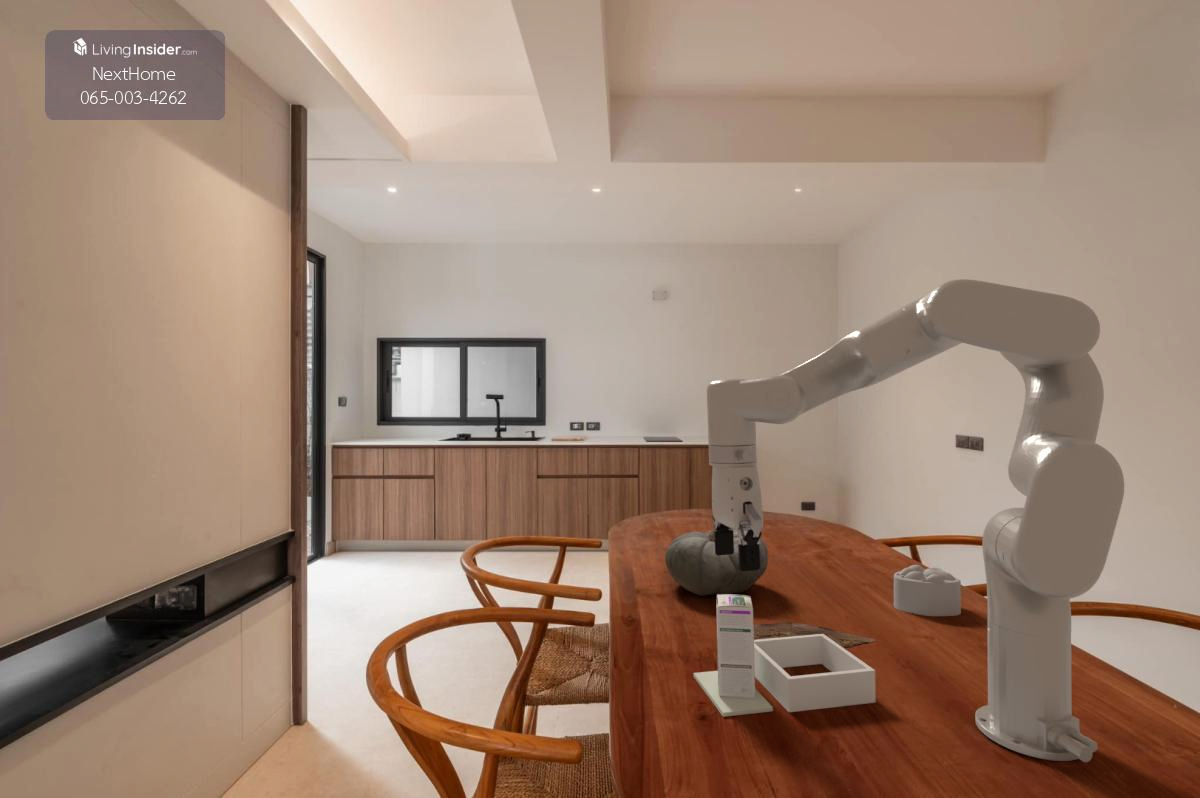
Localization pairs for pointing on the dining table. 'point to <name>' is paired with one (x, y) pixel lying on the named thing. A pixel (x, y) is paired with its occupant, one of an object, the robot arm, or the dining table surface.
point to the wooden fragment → (806, 633)
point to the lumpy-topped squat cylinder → (927, 592)
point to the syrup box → (735, 646)
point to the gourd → (710, 565)
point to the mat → (728, 704)
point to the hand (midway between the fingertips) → (736, 561)
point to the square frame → (812, 691)
